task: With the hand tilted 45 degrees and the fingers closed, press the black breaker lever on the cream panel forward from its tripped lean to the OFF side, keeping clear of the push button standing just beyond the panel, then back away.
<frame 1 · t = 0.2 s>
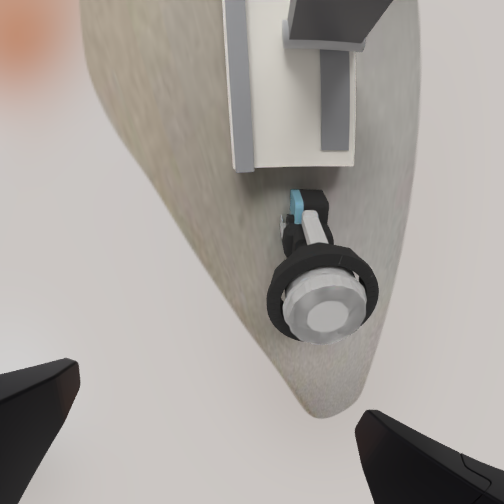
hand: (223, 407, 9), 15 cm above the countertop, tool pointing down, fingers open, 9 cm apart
panel: (284, 5, 15), on the countertop
push button: (300, 227, 23), on the countertop
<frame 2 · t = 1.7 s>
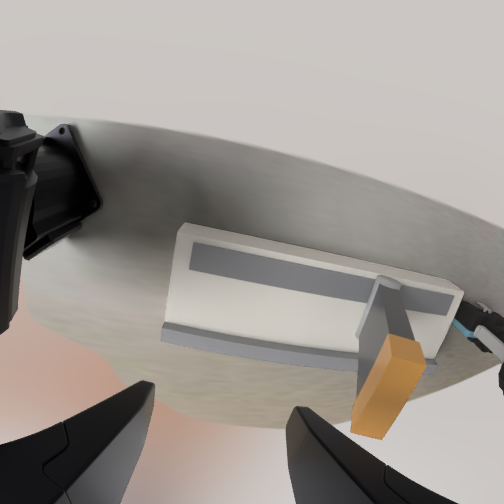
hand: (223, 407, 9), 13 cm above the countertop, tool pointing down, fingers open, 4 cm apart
panel: (321, 301, 22), on the countertop
lever: (381, 341, 15), point 7 cm above the countertop, hinge at -20.0°
push button: (473, 316, 24), on the countertop
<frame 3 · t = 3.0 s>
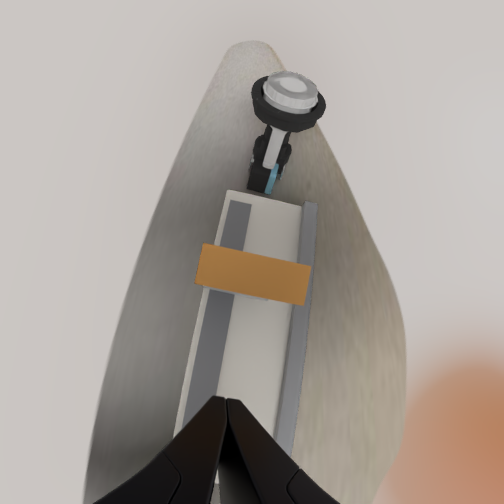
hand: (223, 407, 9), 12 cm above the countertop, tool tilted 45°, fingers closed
panel: (246, 337, 22), on the countertop
lever: (242, 279, 16), point 7 cm above the countertop, hinge at -20.0°
push button: (265, 170, 29), on the countertop
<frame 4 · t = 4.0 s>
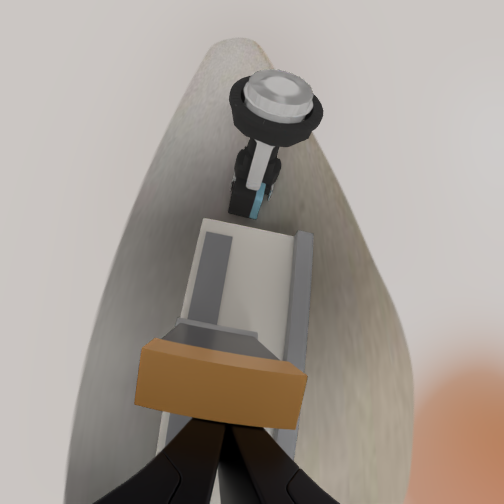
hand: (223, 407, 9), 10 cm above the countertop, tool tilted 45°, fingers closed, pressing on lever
panel: (229, 396, 18), on the countertop
lever: (216, 355, 12), point 7 cm above the countertop, hinge at -19.2°, touching gripper
push button: (250, 188, 25), on the countertop
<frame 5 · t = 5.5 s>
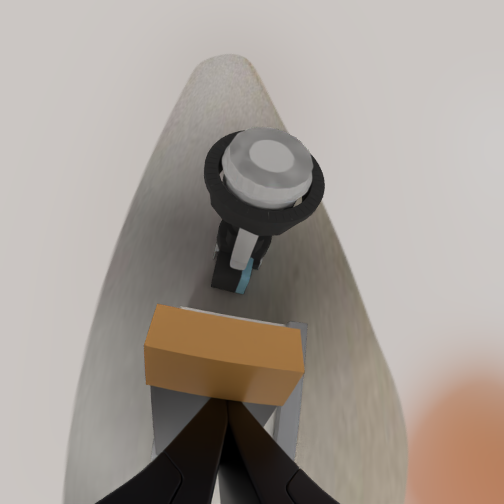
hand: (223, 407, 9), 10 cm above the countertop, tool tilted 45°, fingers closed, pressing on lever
panel: (215, 486, 15), on the countertop
lever: (205, 420, 10), point 7 cm above the countertop, hinge at 27.3°, touching gripper
push button: (237, 252, 22), on the countertop
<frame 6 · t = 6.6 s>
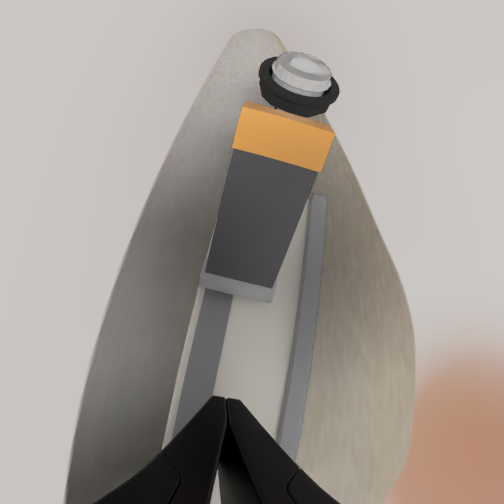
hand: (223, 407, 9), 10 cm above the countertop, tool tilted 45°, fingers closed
panel: (244, 342, 20), on the countertop
lever: (257, 215, 15), point 7 cm above the countertop, hinge at 27.4°
push button: (269, 160, 27), on the countertop
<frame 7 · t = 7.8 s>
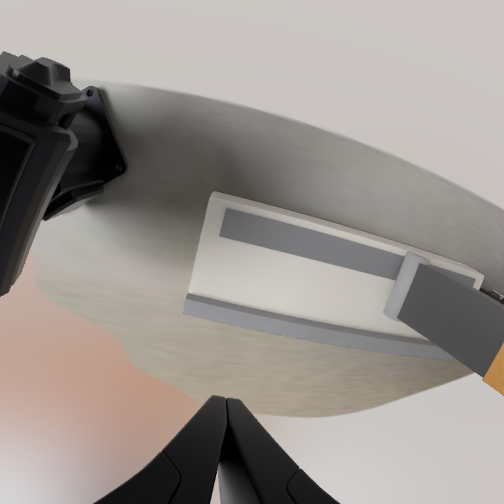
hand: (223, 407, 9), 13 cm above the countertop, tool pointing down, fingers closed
panel: (346, 279, 22), on the countertop
lever: (459, 319, 15), point 7 cm above the countertop, hinge at 27.4°
push button: (488, 305, 23), on the countertop
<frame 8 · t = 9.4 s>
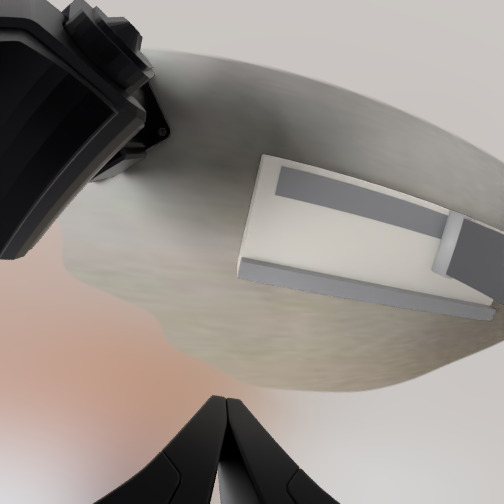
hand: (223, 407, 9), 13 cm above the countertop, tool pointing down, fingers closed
panel: (391, 242, 21), on the countertop
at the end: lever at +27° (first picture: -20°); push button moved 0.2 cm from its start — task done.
